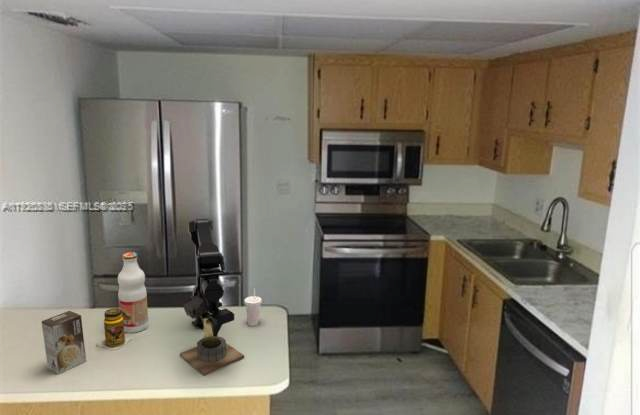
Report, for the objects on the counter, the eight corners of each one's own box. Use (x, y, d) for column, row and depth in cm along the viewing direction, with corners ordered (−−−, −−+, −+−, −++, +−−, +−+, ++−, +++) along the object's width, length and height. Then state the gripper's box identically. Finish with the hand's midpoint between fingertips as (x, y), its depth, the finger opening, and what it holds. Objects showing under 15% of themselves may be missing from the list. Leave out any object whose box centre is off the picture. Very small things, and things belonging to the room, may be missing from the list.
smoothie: (258, 328, 175) (258, 293, 172) (242, 326, 177) (241, 291, 173) (264, 320, 182) (264, 286, 178) (248, 318, 183) (247, 284, 179)
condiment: (116, 350, 158) (113, 317, 156) (95, 345, 161) (92, 312, 158) (131, 339, 165) (128, 308, 162) (111, 335, 168) (108, 304, 165)
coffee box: (75, 355, 155) (70, 309, 151) (86, 361, 151) (82, 314, 148) (46, 368, 147) (41, 320, 143) (58, 375, 144) (52, 326, 140)
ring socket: (179, 355, 156) (178, 342, 155) (219, 340, 166) (218, 327, 165) (203, 375, 145) (203, 361, 144) (244, 358, 156) (244, 344, 154)
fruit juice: (148, 331, 171) (144, 257, 165) (120, 335, 168) (114, 259, 161) (148, 319, 180) (143, 249, 173) (121, 323, 177) (115, 251, 170)
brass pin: (201, 342, 155) (200, 317, 153) (213, 338, 158) (212, 313, 156) (209, 348, 152) (208, 322, 149) (220, 343, 155) (220, 317, 152)
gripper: (171, 286, 151) (174, 330, 155) (203, 305, 138) (204, 353, 142) (203, 277, 159) (204, 320, 162) (235, 295, 146) (235, 341, 150)
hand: (211, 333), depth 154 cm, fingers closed on brass pin, 4 cm apart
